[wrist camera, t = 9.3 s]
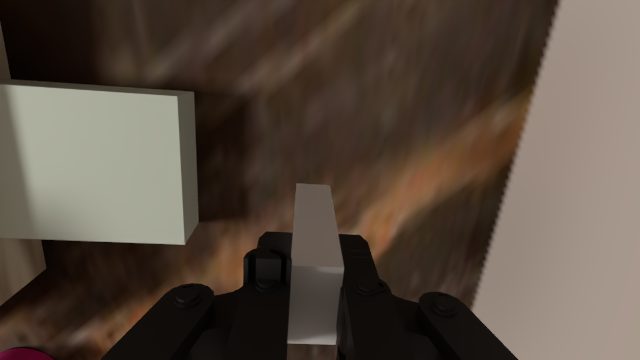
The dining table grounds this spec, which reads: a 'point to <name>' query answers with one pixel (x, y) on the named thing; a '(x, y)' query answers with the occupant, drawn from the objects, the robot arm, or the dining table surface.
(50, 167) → the sage block
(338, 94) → the dining table surface
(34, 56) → the dining table surface
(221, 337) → the robot arm
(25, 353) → the pepper mill
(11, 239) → the oak board
